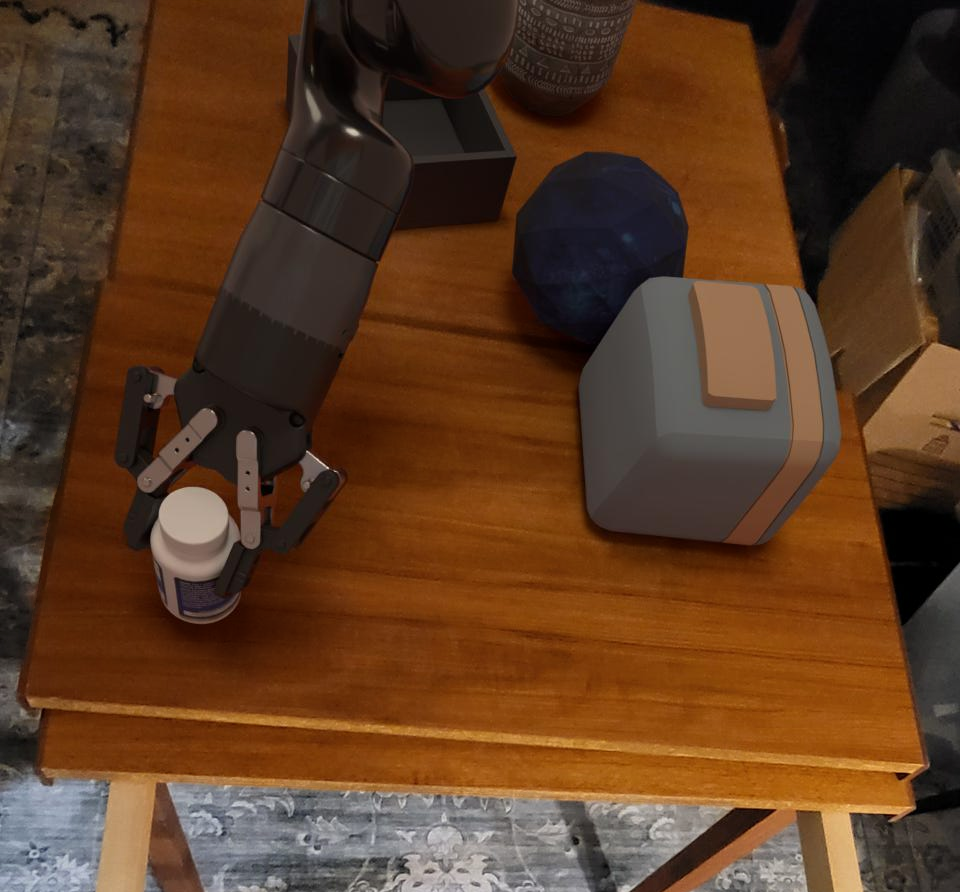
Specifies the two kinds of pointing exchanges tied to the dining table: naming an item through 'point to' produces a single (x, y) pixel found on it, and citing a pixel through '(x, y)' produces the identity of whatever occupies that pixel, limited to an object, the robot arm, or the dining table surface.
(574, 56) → the planter
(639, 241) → the decorative orb
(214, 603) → the pill bottle
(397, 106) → the bin
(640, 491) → the grey rounded cube box
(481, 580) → the dining table surface
